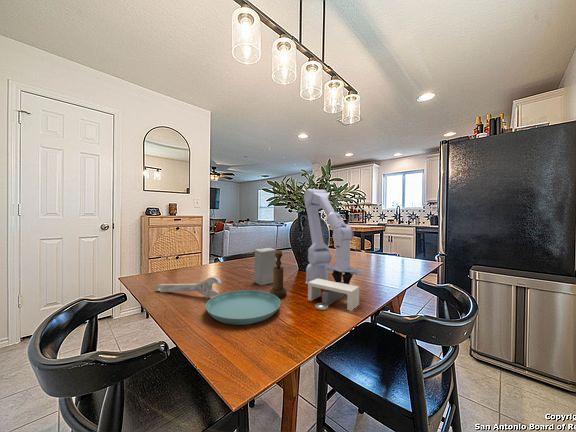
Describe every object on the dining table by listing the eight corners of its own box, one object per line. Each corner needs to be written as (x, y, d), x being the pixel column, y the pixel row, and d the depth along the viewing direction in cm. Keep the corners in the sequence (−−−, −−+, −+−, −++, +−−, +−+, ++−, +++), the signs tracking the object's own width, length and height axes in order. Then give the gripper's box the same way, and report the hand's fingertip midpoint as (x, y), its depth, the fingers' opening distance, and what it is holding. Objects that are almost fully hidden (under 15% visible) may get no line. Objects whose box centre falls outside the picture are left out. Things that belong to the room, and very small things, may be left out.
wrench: (160, 297, 99) (223, 297, 90) (156, 299, 97) (220, 299, 88) (158, 278, 99) (221, 276, 90) (154, 279, 98) (218, 277, 89)
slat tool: (318, 304, 86) (318, 291, 86) (341, 290, 102) (341, 279, 102) (331, 307, 83) (331, 294, 83) (352, 292, 99) (352, 281, 99)
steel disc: (312, 308, 82) (312, 305, 82) (318, 304, 86) (318, 301, 86) (324, 311, 80) (324, 308, 80) (330, 307, 83) (330, 304, 83)
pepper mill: (266, 297, 93) (267, 250, 92) (275, 292, 98) (275, 248, 98) (281, 300, 89) (282, 252, 89) (289, 295, 95) (290, 249, 95)
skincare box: (268, 279, 117) (269, 247, 117) (276, 283, 111) (277, 249, 111) (253, 282, 112) (253, 248, 112) (260, 286, 106) (261, 250, 106)
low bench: (307, 300, 90) (308, 282, 90) (317, 295, 95) (317, 278, 95) (351, 311, 80) (351, 291, 80) (359, 305, 85) (359, 286, 85)
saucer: (202, 334, 65) (202, 321, 65) (207, 301, 88) (207, 292, 88) (288, 324, 71) (289, 313, 71) (272, 296, 94) (272, 288, 94)
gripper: (321, 256, 97) (321, 289, 98) (356, 260, 89) (356, 297, 89) (329, 253, 103) (329, 285, 103) (363, 257, 95) (362, 292, 95)
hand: (342, 290), depth 97 cm, fingers closed on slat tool, 2 cm apart
